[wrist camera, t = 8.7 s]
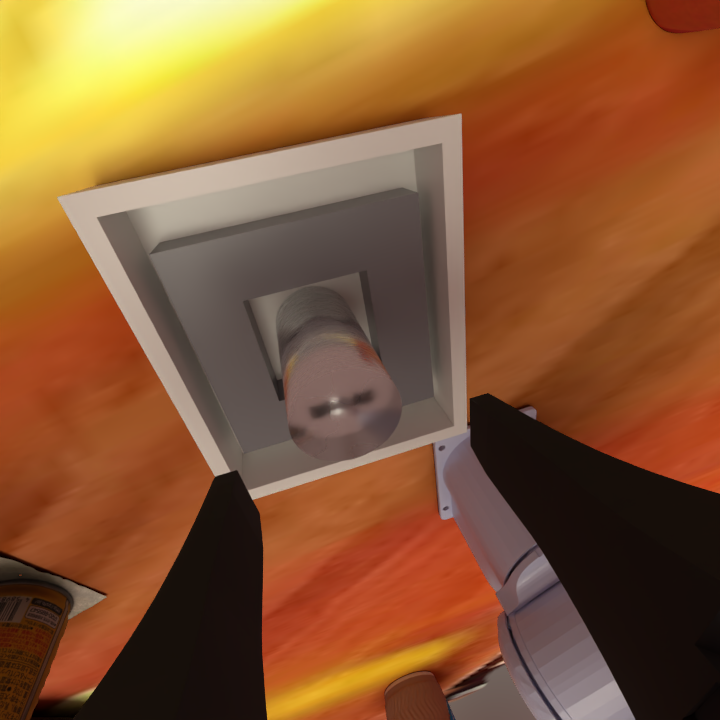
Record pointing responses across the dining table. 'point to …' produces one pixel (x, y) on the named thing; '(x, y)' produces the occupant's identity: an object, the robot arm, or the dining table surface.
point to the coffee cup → (416, 699)
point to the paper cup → (685, 14)
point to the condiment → (32, 631)
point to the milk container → (50, 718)
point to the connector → (332, 378)
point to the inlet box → (292, 282)
